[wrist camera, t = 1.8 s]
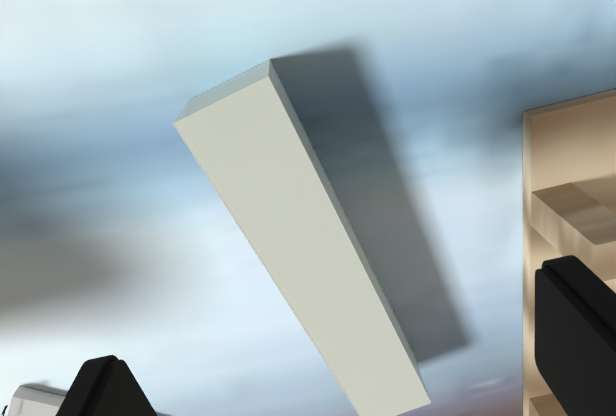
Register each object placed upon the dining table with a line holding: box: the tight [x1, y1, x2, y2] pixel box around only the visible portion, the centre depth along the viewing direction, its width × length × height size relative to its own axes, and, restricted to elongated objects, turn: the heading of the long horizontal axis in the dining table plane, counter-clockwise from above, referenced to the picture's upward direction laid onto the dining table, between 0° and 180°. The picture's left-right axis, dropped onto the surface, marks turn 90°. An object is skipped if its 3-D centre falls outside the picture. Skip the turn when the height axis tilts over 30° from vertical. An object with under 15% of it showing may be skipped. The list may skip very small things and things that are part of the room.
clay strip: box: [173, 59, 431, 416], centre depth 22 cm, size 20×4×4 cm, turn 25°
